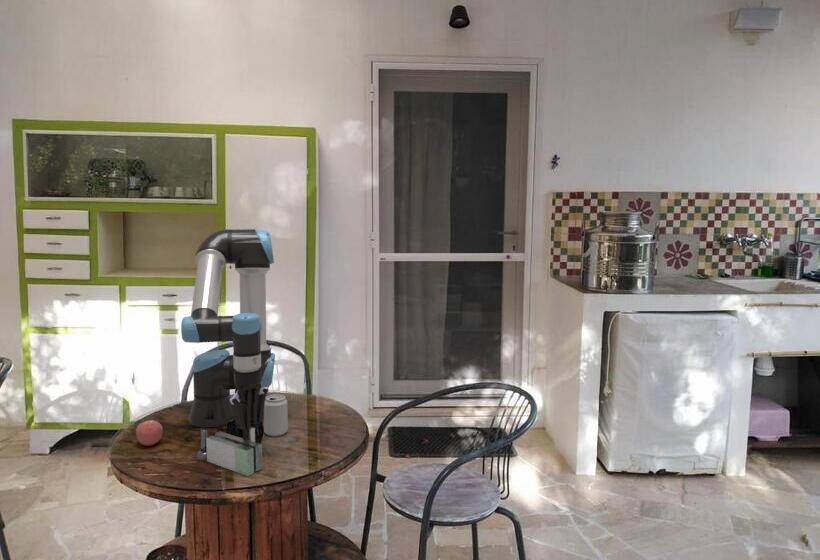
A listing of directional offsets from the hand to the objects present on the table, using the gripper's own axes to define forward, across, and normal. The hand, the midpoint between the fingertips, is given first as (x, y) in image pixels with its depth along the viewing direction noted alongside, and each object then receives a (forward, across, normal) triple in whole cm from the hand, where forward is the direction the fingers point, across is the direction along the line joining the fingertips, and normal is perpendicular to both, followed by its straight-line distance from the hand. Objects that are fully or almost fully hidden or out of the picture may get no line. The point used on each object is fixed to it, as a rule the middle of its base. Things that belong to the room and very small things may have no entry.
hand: (250, 449), depth 175 cm
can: (+4, +20, +10) cm, 23 cm away
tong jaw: (+3, -3, +2) cm, 5 cm away
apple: (+3, -9, +35) cm, 36 cm away
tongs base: (+4, -6, +4) cm, 8 cm away
